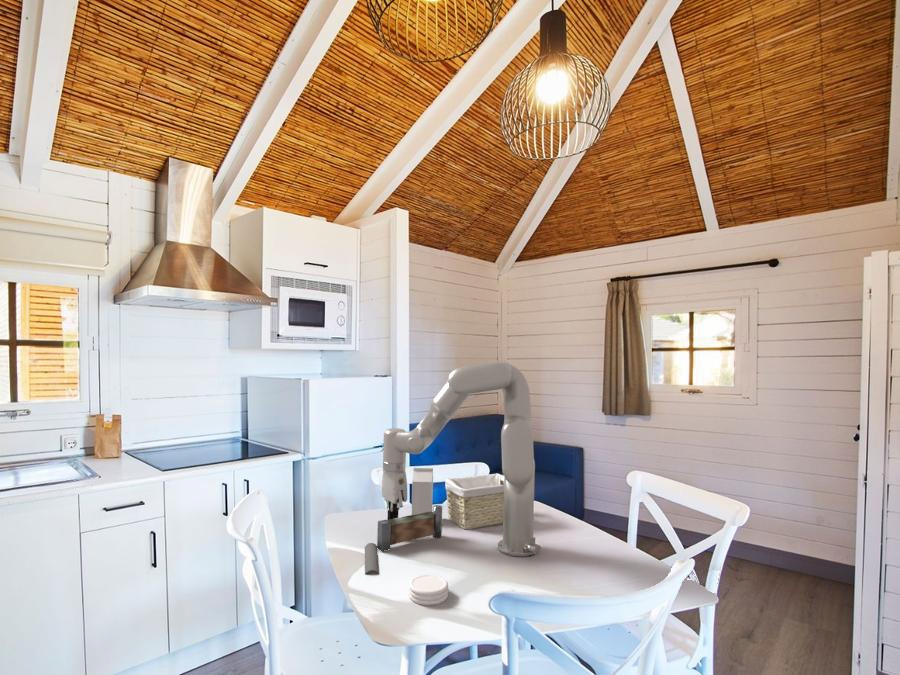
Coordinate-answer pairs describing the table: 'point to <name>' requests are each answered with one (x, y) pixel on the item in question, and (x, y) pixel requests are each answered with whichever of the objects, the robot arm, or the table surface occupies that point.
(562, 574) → the table surface
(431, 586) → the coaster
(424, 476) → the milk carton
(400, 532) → the wooden board
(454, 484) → the storage basket
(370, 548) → the half round rod
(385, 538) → the gate posts
